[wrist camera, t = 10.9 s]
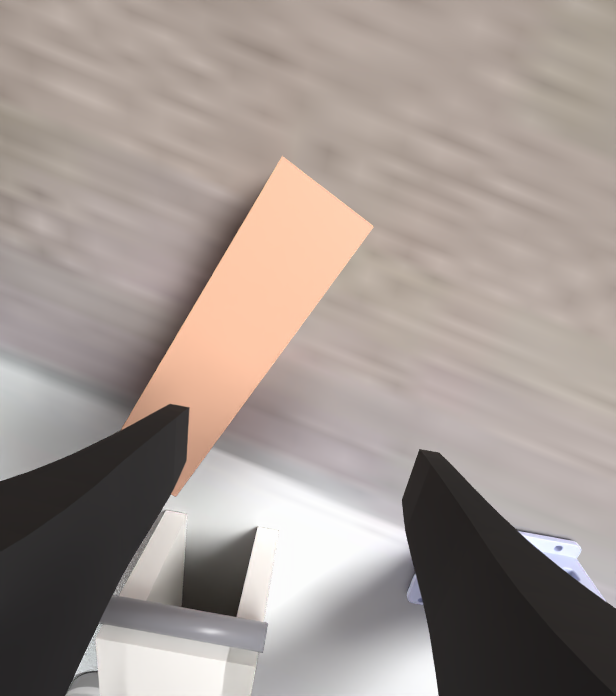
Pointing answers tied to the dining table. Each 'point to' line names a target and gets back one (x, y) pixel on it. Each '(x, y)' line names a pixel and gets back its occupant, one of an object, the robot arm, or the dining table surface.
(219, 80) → the dining table surface
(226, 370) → the orange long block
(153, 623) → the dispenser
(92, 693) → the travel mug
